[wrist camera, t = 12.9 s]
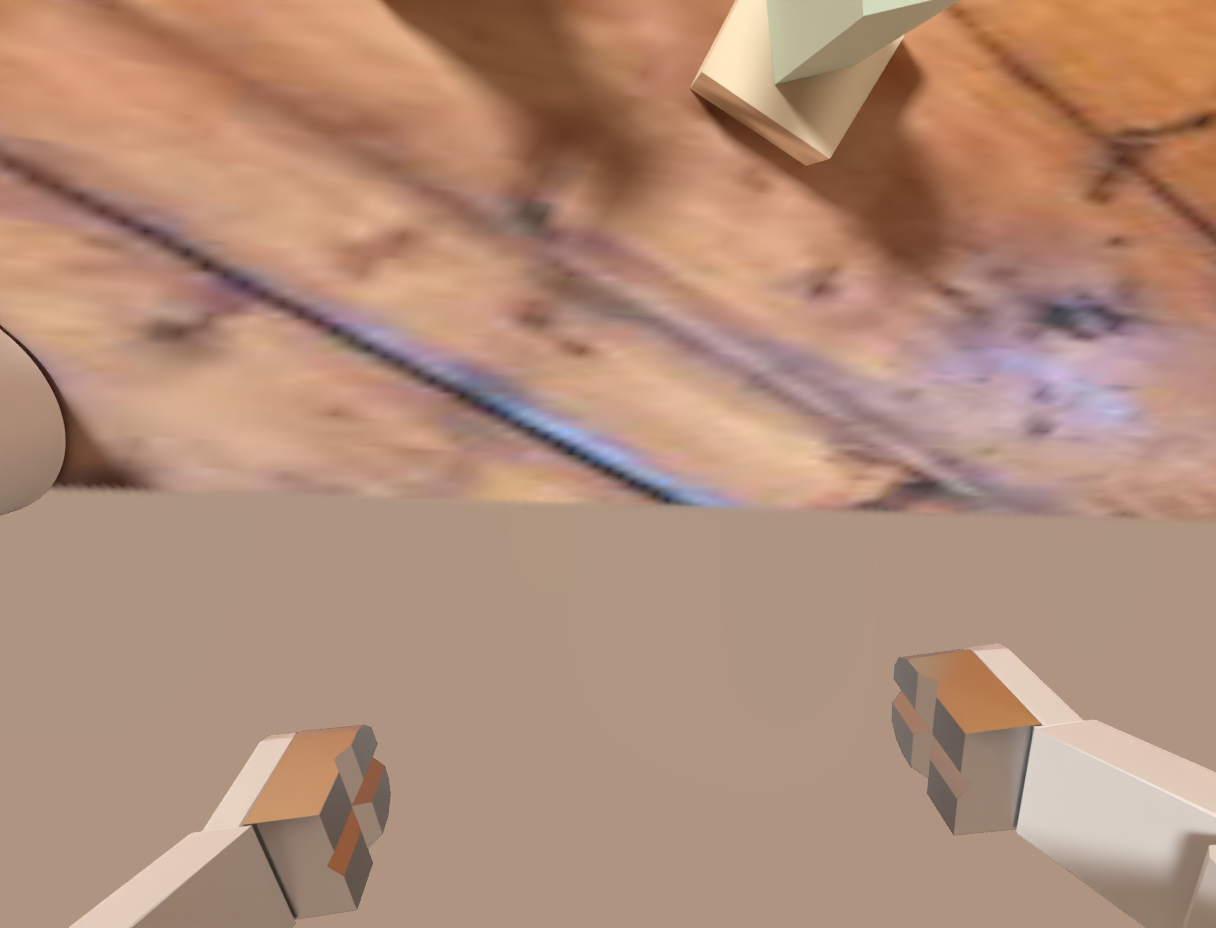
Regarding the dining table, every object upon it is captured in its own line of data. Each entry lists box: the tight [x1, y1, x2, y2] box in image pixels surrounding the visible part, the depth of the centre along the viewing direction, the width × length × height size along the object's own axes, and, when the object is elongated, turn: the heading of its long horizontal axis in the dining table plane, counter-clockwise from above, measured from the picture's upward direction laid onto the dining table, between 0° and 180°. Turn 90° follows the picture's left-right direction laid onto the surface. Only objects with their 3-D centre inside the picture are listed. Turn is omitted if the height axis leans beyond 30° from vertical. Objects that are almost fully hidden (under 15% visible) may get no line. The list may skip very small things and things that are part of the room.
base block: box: [690, 0, 905, 166], centre depth 32 cm, size 8×8×4 cm
